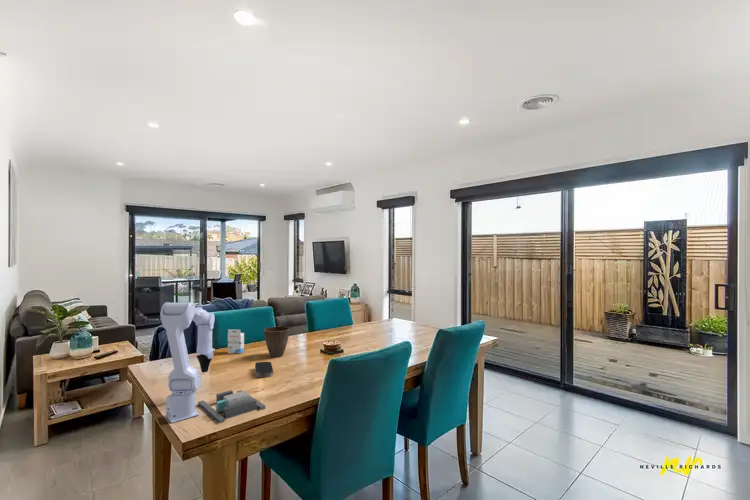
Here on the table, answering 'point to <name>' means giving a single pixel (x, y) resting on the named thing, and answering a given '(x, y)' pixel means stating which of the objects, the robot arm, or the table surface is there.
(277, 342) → the plant pot
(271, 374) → the black sponge
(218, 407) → the sliding jaw
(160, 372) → the table surface
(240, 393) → the steel block
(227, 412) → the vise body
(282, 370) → the table surface
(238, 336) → the ink box
